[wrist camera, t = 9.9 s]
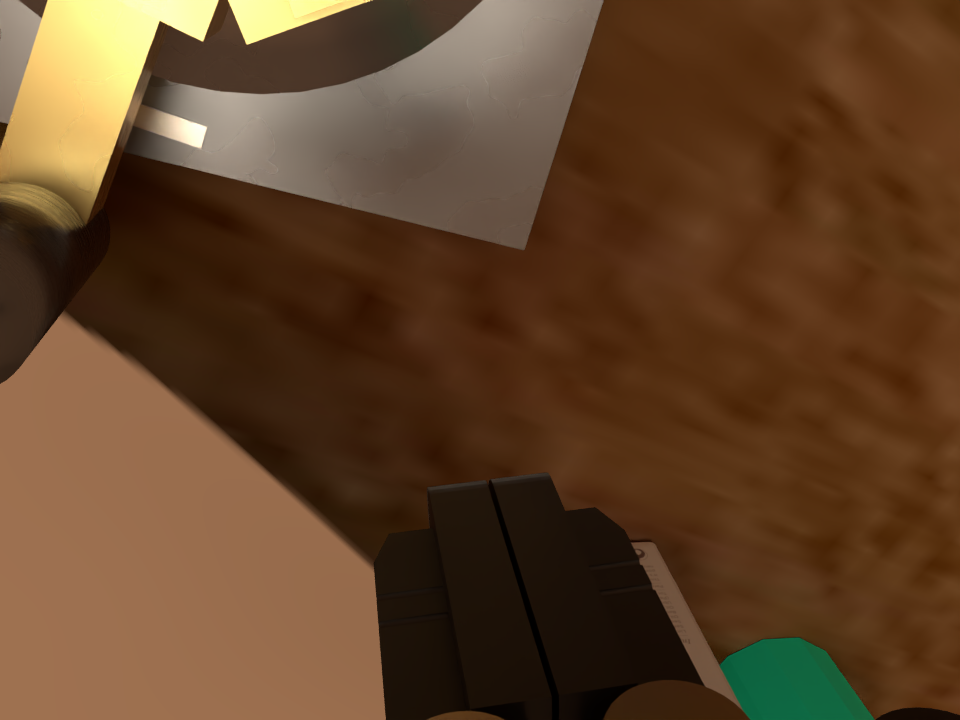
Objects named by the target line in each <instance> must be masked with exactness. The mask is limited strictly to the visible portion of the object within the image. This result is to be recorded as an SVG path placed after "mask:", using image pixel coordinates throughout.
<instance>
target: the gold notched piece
mask: <svg viewBox="0 0 960 720" xmlns="http://www.w3.org/2000/svg"><path fill="white" fill-rule="evenodd" d="M368 1H371V0H48V1H47V4H46V7H45V11H44V14H43V17H42V20H41V23H40V26H39V30H38V33H37V36H36V39H35V42H34V45H33V49H32V52H31V55H30V58H29V61H28V64H27V67H26V71H25V74H24V77H23V80H22V83H21V86H20V90H19V93H18V96H17V99H16V102H15V105H14V108H13V112H12V115H11V118H10V121H9V124H8V127H7V131H6V134H5V137H4V140H3V143H2V146H1V150H0V384H1V383H2V382H4V381H6V380H7V379H8V378H9V377H11V376H12V375H13V374H14V373H15V372H16V371H17V369H19V367H20V366H21V365H22V364H23V362H24V361H25V359H26V358H27V357H28V356H29V355H30V353H31V352H32V351H33V349H34V348H35V347H36V346H37V344H38V343H39V342H40V340H41V339H42V338H43V336H44V335H45V334H46V333H47V331H48V330H49V329H50V327H51V326H52V325H53V324H54V322H55V321H56V320H57V318H58V317H59V316H60V315H61V313H62V312H63V311H64V309H65V308H66V307H67V305H68V304H69V303H70V302H71V300H72V299H73V298H74V296H75V295H76V294H77V293H78V291H79V290H80V289H81V287H82V286H83V285H84V283H85V282H86V281H87V280H88V278H89V277H90V276H91V274H92V273H93V272H94V271H95V269H96V268H97V267H98V265H99V264H100V263H101V261H102V260H103V258H104V256H105V254H106V252H107V249H108V246H109V241H110V226H109V220H108V217H107V214H106V211H105V209H104V204H105V201H106V198H107V196H108V193H109V190H110V187H111V185H112V182H113V179H114V176H115V174H116V171H117V168H118V165H119V163H120V160H121V157H122V154H123V152H124V149H125V146H126V143H127V141H128V138H129V135H130V132H131V130H132V127H133V124H134V121H135V119H136V116H137V113H138V110H139V108H140V105H141V102H142V99H143V97H144V94H145V91H146V88H147V85H148V83H149V80H150V77H151V74H152V72H153V69H154V66H155V63H156V61H157V58H158V55H159V52H160V50H161V47H162V44H163V41H164V39H165V36H166V33H167V30H168V28H169V25H170V26H172V27H174V28H176V29H178V30H180V31H182V32H184V33H186V34H188V35H190V36H193V37H195V38H197V39H199V40H201V41H205V40H206V39H208V38H209V37H211V36H213V35H214V34H216V33H218V32H219V31H221V28H222V26H223V23H224V20H225V18H226V15H227V12H228V10H229V7H230V5H231V8H232V10H233V13H234V15H235V17H236V20H237V22H238V25H239V27H240V29H241V32H242V34H243V37H244V39H245V42H246V44H250V43H253V42H256V41H259V40H261V39H264V38H267V37H270V36H273V35H275V34H278V33H281V32H284V31H287V30H289V29H292V28H295V27H298V26H301V25H303V24H306V23H309V22H312V21H315V20H317V19H320V18H323V17H326V16H329V15H331V14H334V13H337V12H340V11H343V10H345V9H348V8H351V7H354V6H357V5H359V4H362V3H365V2H368Z"/></svg>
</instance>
